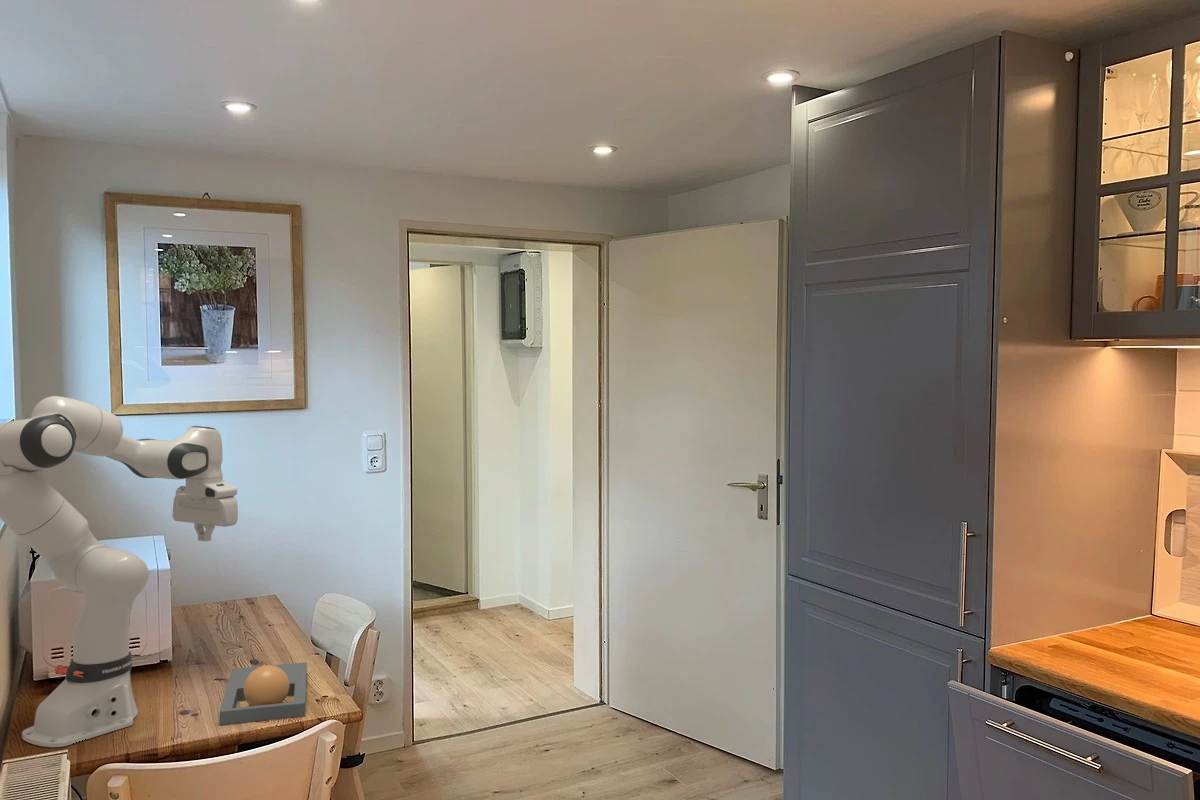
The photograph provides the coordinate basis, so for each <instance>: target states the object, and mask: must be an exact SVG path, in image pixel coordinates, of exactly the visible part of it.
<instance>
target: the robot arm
mask: <svg viewBox="0 0 1200 800" xmlns="http://www.w3.org/2000/svg"><path fill="white" fill-rule="evenodd" d="M219 431H220V430H218V429H216V428H215V427H210V426H201V425H192V426H189V427H188V428H187V431H186V432H184V433H183V434H182V435H181V436H179V437H177V438H174V439H173V440H163V439H156V438H155V439H154V438H140V439H134V438H131V437H129V436H127V435H124V427H123V423H122V421H121V419H120V417H118V416H117V415H115V414H113V413H112V412H110V411H109V410H107V409H105V408H103V407H100V406H98V405H95V404H92V403H89V402H87V401H84V400H83V401H82V400H79V399H77V398H76V399H75V398H70V397H66V396H58V395H52V396H48V397H45V398H43V399H41V400H40V401H39V402H37V404H36V405H35V406H34V408H33V410H32V412H31V416H30V418H25V419H16V420H15V419H14V420H11V421H10V420H9V421H7V422H3V423H2V422H1V423H0V519H1V520H2V522H4V524H5V525H6V526H7V527H8V528H9V529H10V530H11V531H12V532H13V533H15V534H16V535H17V536H18V537H19V538H20V539H21V540H22V541H23V542H25V543H26V545H28V546H29V547H30V548H31V549H32V550H33V551H34V552H36V553H37V554H38V555H39V557H41V559H43V560H44V561H45V563H46V565H48V567H49V569H50V570H51V571H52V573H53V576H54V578H55V579H56V580H57V582H58V583H60V584H61V585H63V586H64V587H65V588H67V589H69V590H70V591H72V592H75V593H79V594H83V595H84V603H83V607H82V610H81V614H80V616H79V618H78V619H76V621H75V622H74V625H73V659H72V660H71V662H70V665H69V667H67V666H63V665H58V666H56V667H57V668H55V670H54V671H56V672H55V673H56V674H60V675H65V674H66V676H65V679H63V681H62V682H61V683H60V684H59V685H58V686H57V687H56V688H55V689H54V690H53V691H52V692H51V693H50V694H49V695H48V696H47V697H45V699H44V700H42V702H40V704H39V705H38V707H37V708H36V712H35V714H34V715H35V716H34V724H33V725H32V726H30V727H27V728H25V729H24V730H22V732H21V738H22V740H23V741H25V742H27V743H29V744H32V745H34V746H38V747H44V748H62V747H63V748H64V747H67V746H70V745H73V743H74V744H77V743H79V741H80V742H82V740H83V741H86V740H90V739H92V738H95V737H99V736H103V735H105V734H108V733H111V732H114V731H119V730H121V729H124V728H127V727H130V726H132V725H133V724H134V719H135V718H136V717H137V715H138V714H139V709H138V708H137V705H136V702H135V698H134V693H133V688H132V687H133V686H132V682H131V681H132V680H131V671H132V668H133V665H132V664H133V662H132V651H131V650H130V651H129V644H130V615H131V611H132V609H133V608H134V604H135V600H136V598H137V596H138V595H139V594H140V593H141V592H142V591H143V590H144V589H145V588H146V585H147V583H148V580H149V569H148V565H147V563H146V562H145V561H144V560H143V559H141V558H140V557H139V556H138V555H136V554H134V553H132V552H131V551H129V550H125V549H119V548H115V547H110V546H108V545H105V544H103V543H102V542H100V541H99V540H98V539H97V538H96V537H95V536H94V534H93V533H92V531H91V529H90V528H89V522H88V520H87V519H86V517H84V516H83V515H82V514H81V513H80V511H78V510H77V509H76V508H75V507H74V506H73V505H72V504H71V503H70V502H69V501H68V500H67V499H66V498H65V497H64V496H63V495H62V494H61V493H60V492H58V491H57V490H56V489H55V488H53V486H51V485H50V483H49V482H48V481H47V479H46V477H45V474H44V471H43V469H49V468H53V467H56V466H58V465H60V464H62V463H64V462H65V461H67V460H68V459H69V457H71V455H72V454H73V452H76V453H80V454H82V455H83V454H84V455H88V456H95V457H96V456H97V457H106V458H109V459H112V460H114V461H117V462H119V463H122V464H123V465H125V466H126V467H127V468H128V469H129V470H130V471H131V472H132V473H133V474H134V475H135V476H137V477H140V478H143V479H165V480H166V479H168V480H184V479H185V486H184V485H180V486H179V487H178V488H177V489H175V495H174V498H173V504H172V505H173V506H172V515H171V516H172V519H173V521H175V522H182V523H189V524H190V523H191V524H194V525H193V526H194V529H195V533H196V534H197V540H198V541H201V542H210V541H212V534H213V532H214V530H215V528H216V527H223V528H226V527H232V526H235V525H236V524H237V522H238V517H239V509H238V508H239V506H238V501H237V498H236V497H235V496H237V494H238V488H237V487H236V486H234V485H232V484H230V483H229V482H227V481H225V480H223V472H222V462H223V441H222V437H221V433H220V432H219ZM85 739H86V740H85ZM76 742H77V743H76Z"/></svg>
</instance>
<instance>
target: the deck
mask: <svg viewBox="0 0 1200 800" xmlns="http://www.w3.org/2000/svg"><path fill="white" fill-rule="evenodd" d="M261 666H262V665H259V666H247V667H237V668H231V671H230V674H229V678H228V681H227V685H226V688H225V692H224V695H223V699H222V703H221V704H220V705H221V706H220V709H219V713H218V714H219V726H225V725H233V724H244V723H252V722H263V721H271V719H273V720H280V719H281V720H282V718H283V719H292V718H297V717H298V718H300V717H306V699H307V680H308V677H307V676H308V671H307V670H308V662H307V661H305V662H296V663H295V662H293V663H292V662H291V663H284V664H273V666H276V667H279V668H280V669H282V670H283V671H284V672H285V673H286V675H287V677H288V679H289V691H288V694H287V696H286V697H291V696H292V697H293V701H290V702H282V703H278V704H268V705H258V706H250V705H249V706H242V707H241V706H240V707H237V705H238V701H239V702H240V701H246V699H245V697H244V691H243V690H244V684H245V681H246V679H247V677H248V676H249V674H250V673H251V672H252V671H254V670H255V669H257V668H259V667H261Z"/></svg>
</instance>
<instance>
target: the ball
mask: <svg viewBox="0 0 1200 800" xmlns="http://www.w3.org/2000/svg"><path fill="white" fill-rule="evenodd" d="M273 665H274V664H273ZM273 665H272V664H268V665H267V664H266V665H260V666H261V667H259V668H257V669H255V670H254V671H252V672H251V673H250V674H249V676H248V677H247V679H246V681H245V684H244V690H243V691H244V697H245V699H246V700H245V701H246V703H247V704H248V705H249V706H258V705H268V704H278V703H284V701H285V700H286V698H287V697H288V696H287V694H288V691H289V679H288V677H287V675H286V673H285V672H284V671H283V670H282V669H280V668H279V667H276V666H273Z"/></svg>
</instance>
